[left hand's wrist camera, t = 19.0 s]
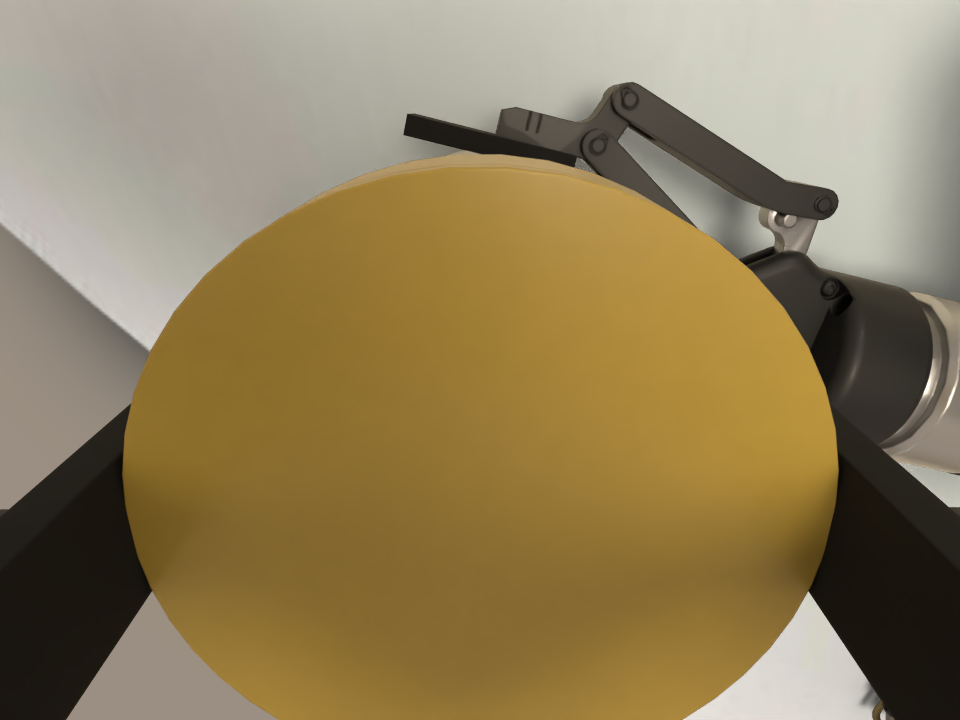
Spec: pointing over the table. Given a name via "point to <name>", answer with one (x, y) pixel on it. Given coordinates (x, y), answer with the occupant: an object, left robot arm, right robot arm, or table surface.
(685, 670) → the lid
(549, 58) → the table surface
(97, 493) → the left robot arm
